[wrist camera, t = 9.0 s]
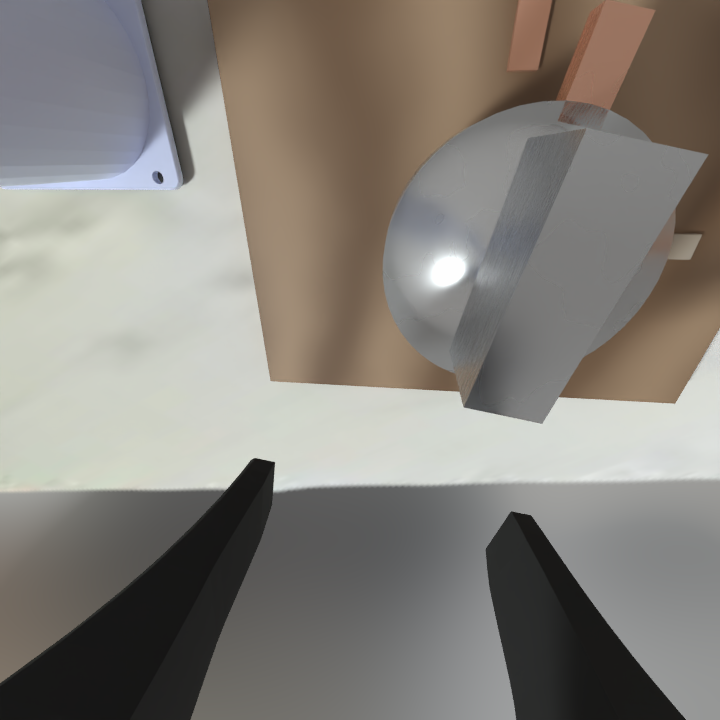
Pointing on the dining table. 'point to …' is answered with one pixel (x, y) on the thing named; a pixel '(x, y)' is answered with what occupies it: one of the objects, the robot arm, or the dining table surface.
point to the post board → (414, 145)
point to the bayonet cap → (537, 231)
